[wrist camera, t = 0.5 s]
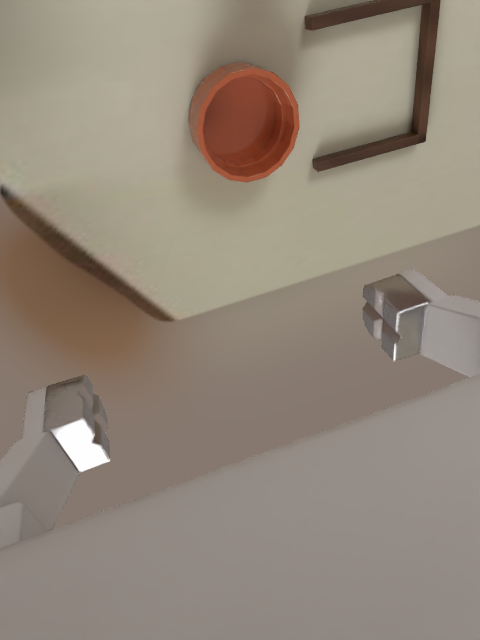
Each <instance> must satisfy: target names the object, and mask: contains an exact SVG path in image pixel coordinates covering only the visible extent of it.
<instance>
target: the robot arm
mask: <svg viewBox="0 0 480 640" xmlns="http://www.w3.org/2000/svg"><path fill="white" fill-rule="evenodd" d="M363 297H364V298H365V299H366V300H367V303H366V304H365V306H364V307H363V320H364V323H365V326H366V328H367V330H368V332H369V333H370V335H371V336H372V337H373V338H375V339H378V340H381V341H382V345H381V347H382V349H383V350H384V351H385V352H386V353H387V354H388V355H389V357H390V358H391V359H392V360H393V361H394V362H395V361H397V360H401V359H403V358H407V357H410V356H413V355H416V354H419V353H421V355H423V356H425V357H428V358H430V359H432V360H434V361H436V362H438V363H441V364H443V365H445V366H447V367H449V368H451V369H453V370H456V371H458V372H460V373H462V374H465V375H467V376H469V377H470V378H467V379H464V380H462V381H459V382H456V383H453V384H451V385H448V386H445V387H443V388H440V389H437V390H434V391H431V392H429V393H426V394H423V395H420V396H418V397H415V398H412V399H409V400H407V401H404V402H401V403H399V404H396V405H393V406H391V407H388V408H385V409H382V410H379V411H376V412H374V413H371V414H368V415H366V416H363V417H360V418H357V419H354V420H351V421H349V422H346V423H343V424H341V425H338V426H335V427H332V428H329V429H327V430H324V431H321V432H318V433H316V434H313V435H310V436H307V437H305V438H302V439H299V440H296V441H294V442H291V443H288V444H285V445H283V446H280V447H277V448H274V449H272V450H269V451H266V452H264V453H261V454H258V455H255V456H253V457H250V458H247V459H244V460H242V461H239V462H236V463H234V464H231V465H228V466H225V467H223V468H220V469H217V470H214V471H211V472H209V473H206V474H203V475H200V476H198V477H195V478H192V479H189V480H187V481H184V482H181V483H179V484H176V485H173V486H170V487H167V488H165V489H162V490H159V491H156V492H154V493H151V494H148V495H145V496H143V497H140V498H137V499H134V500H132V501H129V502H126V503H124V504H121V505H118V506H115V507H112V508H110V509H107V510H104V511H101V512H99V513H96V514H93V515H90V516H88V517H85V518H82V519H79V520H77V521H74V522H71V523H68V524H66V525H63V526H60V527H57V528H55V529H53V528H54V526H55V523H56V522H57V520H58V517H59V515H60V513H61V511H62V509H63V507H64V505H65V503H66V501H67V499H68V497H69V495H70V493H71V491H72V489H73V487H74V485H75V483H76V481H77V479H78V477H79V472H82V471H85V470H87V469H90V468H93V467H95V466H98V465H101V464H103V463H106V462H109V461H110V447H109V440H108V438H107V437H106V434H105V432H106V430H107V429H108V422H107V417H106V412H105V409H104V407H103V404H102V401H101V399H100V398H99V396H98V395H96V394H94V393H93V386H92V383H91V381H90V379H89V378H88V376H86V375H83V376H79V377H77V378H73V379H70V380H66V381H63V382H59V383H56V384H53V385H49V386H48V387H44V388H40V389H37V390H34V391H30V392H29V393H28V394H27V396H26V403H25V411H24V420H23V428H22V436H21V440H19V441H16V442H15V443H14V444H13V445H12V447H11V448H10V449H9V451H8V452H7V453H6V455H5V456H4V457H3V458H2V459H1V461H0V640H480V301H476V300H472V299H467V298H464V297H459V296H455V295H452V296H448V295H446V294H445V293H444V292H443V291H441V290H440V289H439V288H438V287H437V286H435V285H434V284H433V283H431V282H430V281H429V280H428V279H427V278H425V277H424V276H423V275H422V274H420V273H419V272H418V271H417V270H414V269H410V270H407V271H404V272H401V273H398V274H396V275H393V276H391V277H387V278H384V279H382V280H378V281H375V282H373V283H370V284H366V285H365V286H364V288H363Z"/></svg>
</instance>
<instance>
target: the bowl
mask: <svg viewBox="0 0 480 640" xmlns="http://www.w3.org/2000/svg"><path fill="white" fill-rule="evenodd" d="M189 126H190V131H191V136H192V140H193V143H194V144H195V146H196V147H197V149H198V150H199V152H200V153H201V155H202V156H203V158H204V159H205V160H206V161H207V163H208V164H209V165H210V167H211V168H212V169H213V170H214V171H216V172H217V173H219V174H220V175H222V176H224V177H225V178H227V179H228V180H234V181H241V182H250V181H254V180H257V179H261V178H265V177H267V176H268V175H270V174H271V173H272V172H274V171H275V170H276V169H278V168H279V167H280V166H282V164H283V163H284V161H285V160H286V158H287V157H288V155H289V154H290V153H291V151H292V150H293V148H294V145H295V141H296V138H297V134H298V130H299V113H298V104H297V102H296V100H295V98H294V96H293V94H292V92H291V90H290V87H289V86H288V85H287V84H286V83H285V82H284V81H283V80H281V79H280V78H279V77H278V76H277V75H275V74H274V73H273V72H271V71H268V70H266V69H264V68H262V67H259V66H256V65H252V64H247V63H243V62H236V63H232V64H228V65H224V66H220V67H218V68H217V69H216V70H215V71H213V72H212V73H211V74H210V75H208V76H207V77H206V78H205V79H203V80H202V82H201V84H200V86H199V87H198V89H197V91H196V93H195V94H194V96H193V98H192V100H191V107H190V114H189Z"/></svg>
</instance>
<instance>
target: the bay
mask: <svg viewBox="0 0 480 640" xmlns="http://www.w3.org/2000/svg"><path fill="white" fill-rule="evenodd" d="M418 5H422V14H421V26H420V38H419V49H418V61H417V73H416V85H415V97H414V108H413V120H412V132H409V133H405V134H402V135H398V136H394V137H391V138H387V139H384V140H380V141H376V142H373V143H369V144H365V145H362V146H358V147H355V148H351V149H347V150H344V151H340V152H336V153H333V154H329V155H326V156H322V157H318V158H315V159H313V168H314V169H315V170H317V171H318V172H319V171H323V170H326V169H330V168H333V167H337V166H341V165H344V164H348V163H351V162H355V161H358V160H362V159H366V158H369V157H373V156H376V155H380V154H383V153H387V152H391V151H394V150H398V149H401V148H405V147H408V146H412V145H416V144H419V143H423V142H425V141H426V132H427V123H428V113H429V104H430V94H431V85H432V75H433V66H434V56H435V47H436V38H437V28H438V19H439V9H440V0H373V1H369V2H364V3H360V4H356V5H351V6H347V7H343V8H338V9H334V10H330V11H325V12H321V13H317V14H312V15H308V16H305V25H306V29H307V30H316V29H320V28H324V27H329V26H333V25H337V24H341V23H346V22H350V21H354V20H358V19H363V18H367V17H371V16H375V15H380V14H384V13H388V12H392V11H397V10H401V9H405V8H410V7H414V6H418Z"/></svg>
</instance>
